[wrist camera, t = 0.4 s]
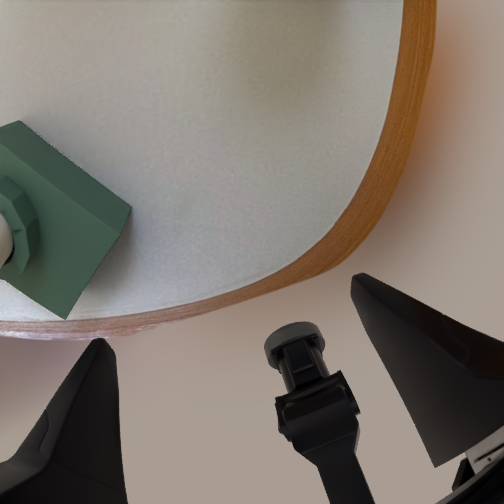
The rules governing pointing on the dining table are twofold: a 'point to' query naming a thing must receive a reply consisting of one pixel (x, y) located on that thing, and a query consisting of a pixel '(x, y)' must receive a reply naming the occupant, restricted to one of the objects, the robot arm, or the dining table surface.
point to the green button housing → (53, 220)
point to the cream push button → (5, 240)
